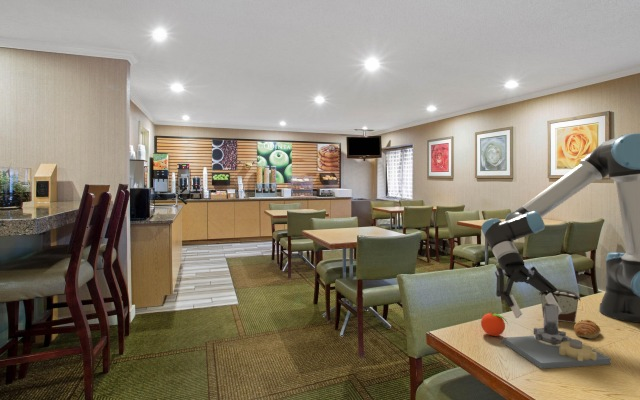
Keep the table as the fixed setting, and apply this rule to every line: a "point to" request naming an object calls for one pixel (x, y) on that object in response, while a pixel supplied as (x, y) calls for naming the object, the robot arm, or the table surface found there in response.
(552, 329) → the gear
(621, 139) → the robot arm
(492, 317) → the clementine
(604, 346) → the table surface
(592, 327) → the pastry
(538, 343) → the gear board
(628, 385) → the table surface
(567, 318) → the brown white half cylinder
